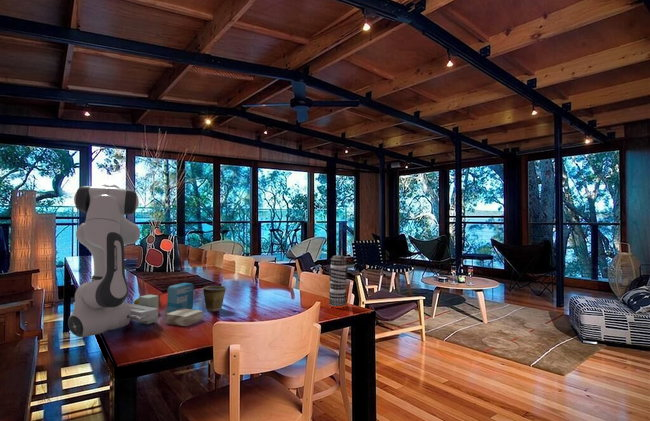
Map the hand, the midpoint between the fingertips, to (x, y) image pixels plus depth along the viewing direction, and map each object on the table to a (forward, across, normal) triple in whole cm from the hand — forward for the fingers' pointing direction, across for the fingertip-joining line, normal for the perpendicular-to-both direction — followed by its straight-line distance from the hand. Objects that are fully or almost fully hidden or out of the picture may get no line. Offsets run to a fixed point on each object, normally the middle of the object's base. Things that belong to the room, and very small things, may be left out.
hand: (150, 307), depth 146 cm
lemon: (+10, +13, +7) cm, 18 cm away
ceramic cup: (+30, -6, +6) cm, 31 cm away
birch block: (+8, -10, +7) cm, 15 cm away
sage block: (-1, 0, +6) cm, 6 cm away
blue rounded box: (+19, +3, +6) cm, 20 cm away
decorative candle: (+63, -56, +6) cm, 84 cm away
